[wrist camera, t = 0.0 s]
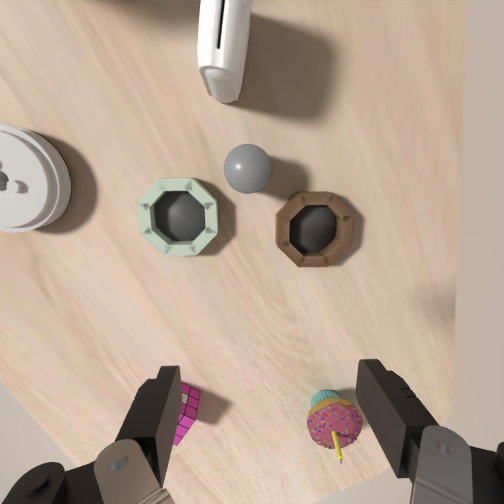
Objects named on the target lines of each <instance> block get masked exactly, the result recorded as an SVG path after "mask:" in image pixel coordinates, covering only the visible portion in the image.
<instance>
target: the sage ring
mask: <svg viewBox="0 0 504 504" xmlns="http://www.w3.org/2000/svg"><path fill="white" fill-rule="evenodd" d="M167 191H170V192H168V193H166V192H167ZM165 193H166V194H165ZM156 203H157V205H156V207H155V204H156ZM137 210H138V219H139V227H140V234H141V236H142V237H143V238H145V239H146V240H147V241H148V242H149V243H150V244H152V245H153V246H154V247H155V248H156V249H158V250H159V251H160V252H161V253H162V254H163V255H166V256H189V255H197V254H198V253H199V252H200V251H201V250H202V249H203V248H204V247H205V246H206V245H207V244H208V243H209V242H210V241H211V240H212V239H213V238H214V237H215V236H216V235H217V233H218V230H219V223H218V200H217V199H216V198H215V197H214V196H213V195H212V194H211V193H210V192H209V191H208V190H207V189H206V188H205V187H204V186H203V185H202V184H201V183H199V182H198V181H197V180H196V179H195V178H160V179H157V180H156V181H155V182H154V184H153V185H152V186H151V187H150V188H149V189H148V190H147V192H146V193H145V194H144V195H143V196H142V197H141V198H140V200H139V201H138V202H137ZM205 225H206V228H205ZM157 226H158V227H157ZM204 228H205V229H204ZM203 229H204V230H203ZM194 238H195V239H194ZM172 239H173V240H176V241H173V240H172ZM191 239H194V240H191Z"/></svg>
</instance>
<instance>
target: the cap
mask: <svg viewBox="0 0 504 504" xmlns="http://www.w3.org/2000/svg"><path fill="white" fill-rule="evenodd" d="M271 172H272V166H271V161H270V159H269V156H268V155H267V153H266V152H265V151H264V150H263V149H261V148H260V147H258V146H256V145H252V144H243V145H240V146H237V147H236V148H234V149H233V150H232V151H231V152H230V153H229V154H228V156H227V158H226V160H225V164H224V174H225V177H226V180H227V182H228V183H229V185H230V186H231V187H232V188H233V189H235V190H236V191H238V192H241V193H245V194H250V193H255V192H258V191H260V190H261V189H263V188H264V187H265V186H266V184H267V183H268V181H269V179H270V177H271Z"/></svg>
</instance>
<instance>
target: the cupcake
mask: <svg viewBox="0 0 504 504" xmlns="http://www.w3.org/2000/svg"><path fill="white" fill-rule="evenodd" d="M307 428H308V430H309V433H310V435H311V437H312V439H313V440H314V441H315V442H316V443H317V445H318V444H319V445H321V446H323V447H325V448H326V447H327V448H329V449H336V453H337V457H338V460H339V461H340V464H342V460H343V457H342V453H341V448H343V447H346V446H348V445H350V444H351V443H353V442H354V441H355V439H356V440H357V437H358V436H359V434H360V431H361V428H362V416H361V414H360V413H359V411H358V410H357V408H356V407H355V405H354V404H353V403H352V402H351V401H350V400H345V399H341V398H340V397H339V396H338V395H337V394H336V393H335V392H333V391H331V390H323V391H320V392H318V393H317V394H315V395H314V397H313V399H312V402H311V410H310V411H309V413H308V418H307Z"/></svg>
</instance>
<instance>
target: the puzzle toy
mask: <svg viewBox="0 0 504 504" xmlns="http://www.w3.org/2000/svg"><path fill="white" fill-rule="evenodd" d="M181 387H182V408H181V413H180V417H179V421H178V425H177V429H176V433H175V438H174V442H173V445H176V446H177V445H178V444H179V442H180V441H181V440H182V438H183V437H184V435H185V434H186V433H187V431H188V430H189V428H190V427H191V426H192V424H193V423H194V422H195V420H196V415H197V409H198V403H199V397H200V392H199V391H197V390H195V389H193V388H191V387H189V386H187V385H185V384H183V383H181Z"/></svg>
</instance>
